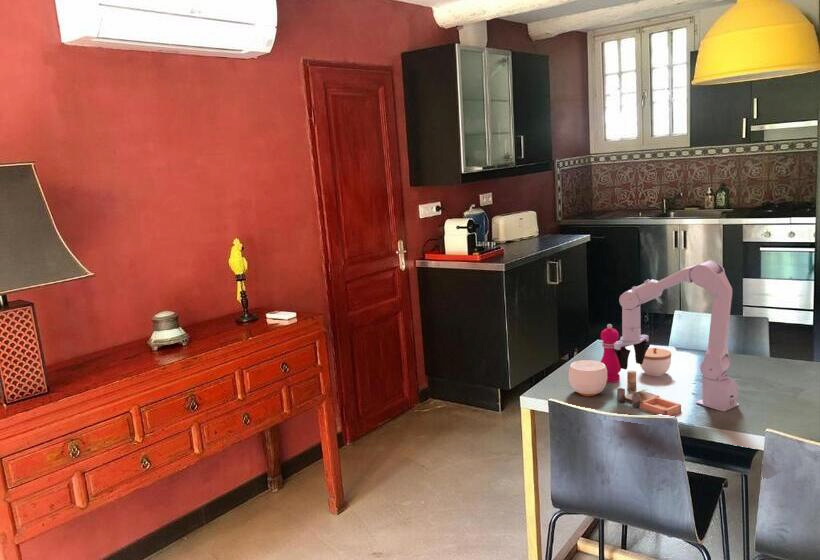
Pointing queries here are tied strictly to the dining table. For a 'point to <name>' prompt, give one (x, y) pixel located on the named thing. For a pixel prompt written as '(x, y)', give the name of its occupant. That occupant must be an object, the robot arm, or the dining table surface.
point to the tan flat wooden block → (643, 396)
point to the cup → (588, 377)
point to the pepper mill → (610, 354)
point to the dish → (660, 406)
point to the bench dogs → (635, 398)
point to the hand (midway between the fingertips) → (631, 366)
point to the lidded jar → (656, 361)
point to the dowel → (631, 380)
